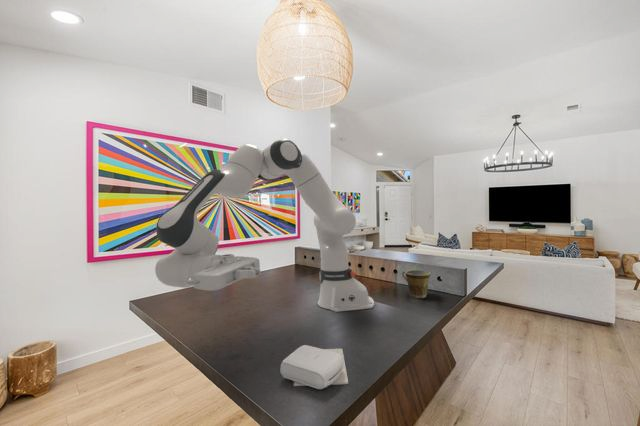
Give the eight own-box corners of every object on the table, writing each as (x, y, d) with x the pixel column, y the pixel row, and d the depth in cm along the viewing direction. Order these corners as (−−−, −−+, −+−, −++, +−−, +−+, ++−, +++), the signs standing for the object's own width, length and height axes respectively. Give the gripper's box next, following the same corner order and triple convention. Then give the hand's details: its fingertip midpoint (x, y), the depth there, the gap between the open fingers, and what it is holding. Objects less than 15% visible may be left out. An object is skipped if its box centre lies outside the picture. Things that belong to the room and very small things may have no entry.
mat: (342, 350, 78) (342, 348, 78) (348, 384, 63) (348, 382, 63) (298, 351, 78) (298, 350, 78) (293, 385, 63) (293, 384, 63)
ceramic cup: (435, 296, 121) (434, 272, 121) (420, 301, 115) (420, 276, 115) (410, 289, 132) (409, 267, 132) (395, 293, 126) (395, 271, 126)
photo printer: (304, 341, 73) (348, 353, 67) (305, 358, 73) (348, 371, 67) (279, 360, 65) (326, 375, 58) (279, 379, 65) (327, 396, 58)
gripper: (180, 268, 65) (232, 270, 61) (232, 253, 85) (275, 253, 81) (181, 296, 65) (234, 299, 61) (234, 274, 85) (276, 275, 81)
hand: (257, 273), depth 71 cm, fingers closed
